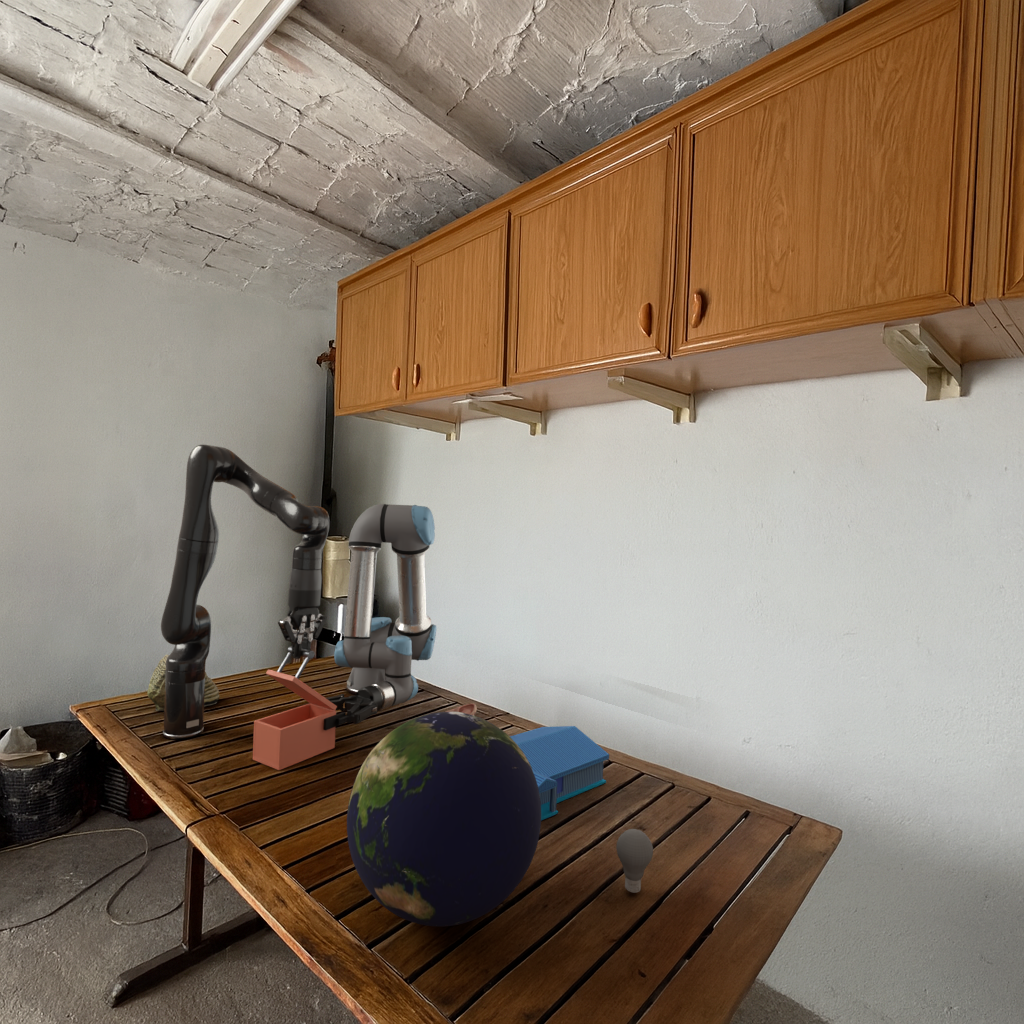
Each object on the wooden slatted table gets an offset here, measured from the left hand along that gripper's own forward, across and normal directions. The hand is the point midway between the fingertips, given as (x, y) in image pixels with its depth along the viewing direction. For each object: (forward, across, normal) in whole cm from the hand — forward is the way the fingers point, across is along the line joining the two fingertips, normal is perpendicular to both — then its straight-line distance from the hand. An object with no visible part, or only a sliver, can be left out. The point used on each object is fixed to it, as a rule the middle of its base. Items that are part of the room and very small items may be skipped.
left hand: (300, 657), depth 155 cm
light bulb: (+23, -3, -89) cm, 92 cm away
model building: (+23, +16, -55) cm, 61 cm away
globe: (+24, -25, -66) cm, 74 cm away
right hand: (+16, +4, 0) cm, 17 cm away
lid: (+9, +1, 0) cm, 9 cm away
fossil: (+24, +3, +52) cm, 57 cm away
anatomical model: (+22, +42, -16) cm, 51 cm away
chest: (+24, 0, 0) cm, 24 cm away
